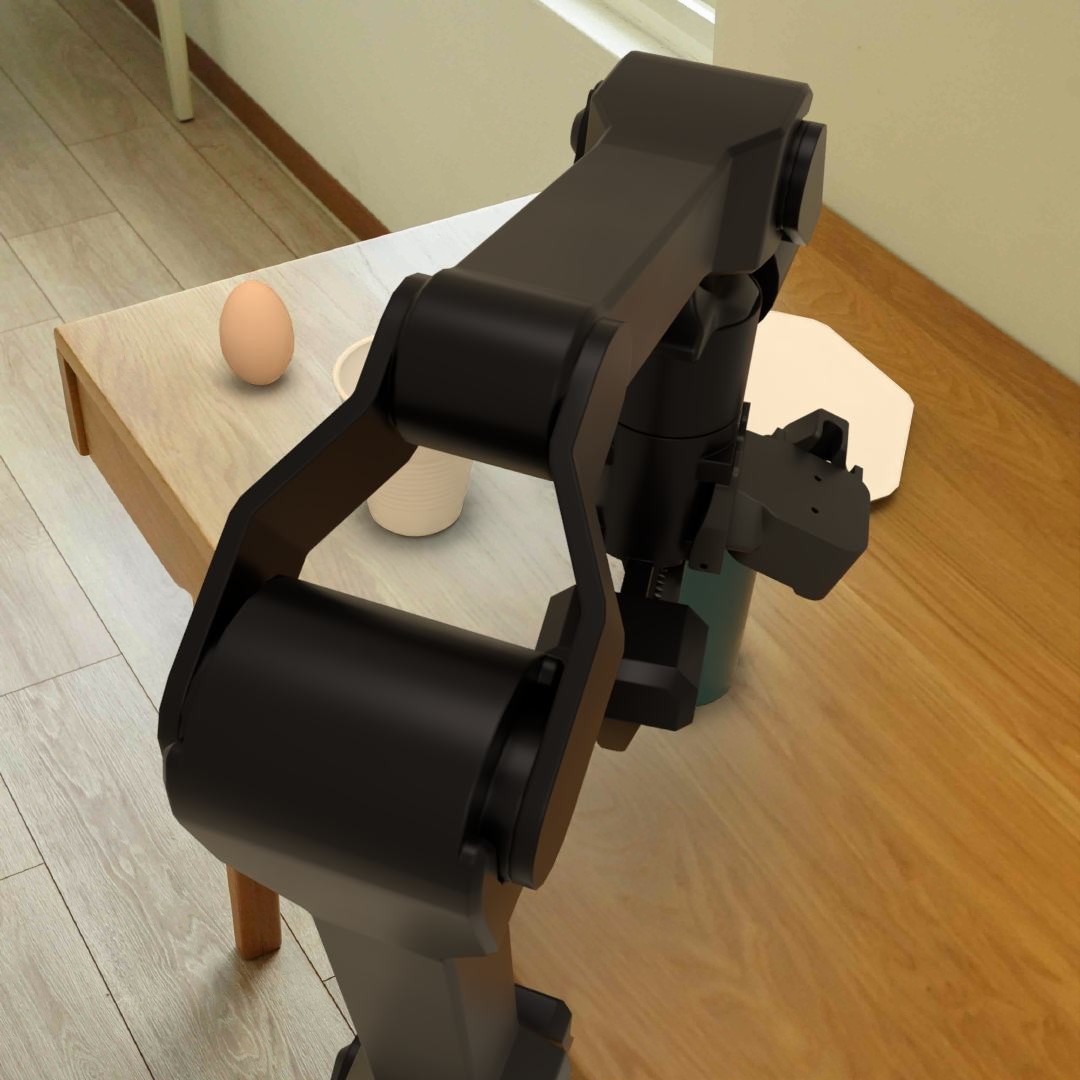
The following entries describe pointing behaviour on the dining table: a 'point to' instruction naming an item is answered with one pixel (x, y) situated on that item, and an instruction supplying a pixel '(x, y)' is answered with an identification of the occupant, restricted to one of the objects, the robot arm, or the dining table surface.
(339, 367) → the cup
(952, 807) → the dining table surface
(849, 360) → the plate
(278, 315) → the egg
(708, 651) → the can
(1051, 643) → the dining table surface
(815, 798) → the dining table surface
